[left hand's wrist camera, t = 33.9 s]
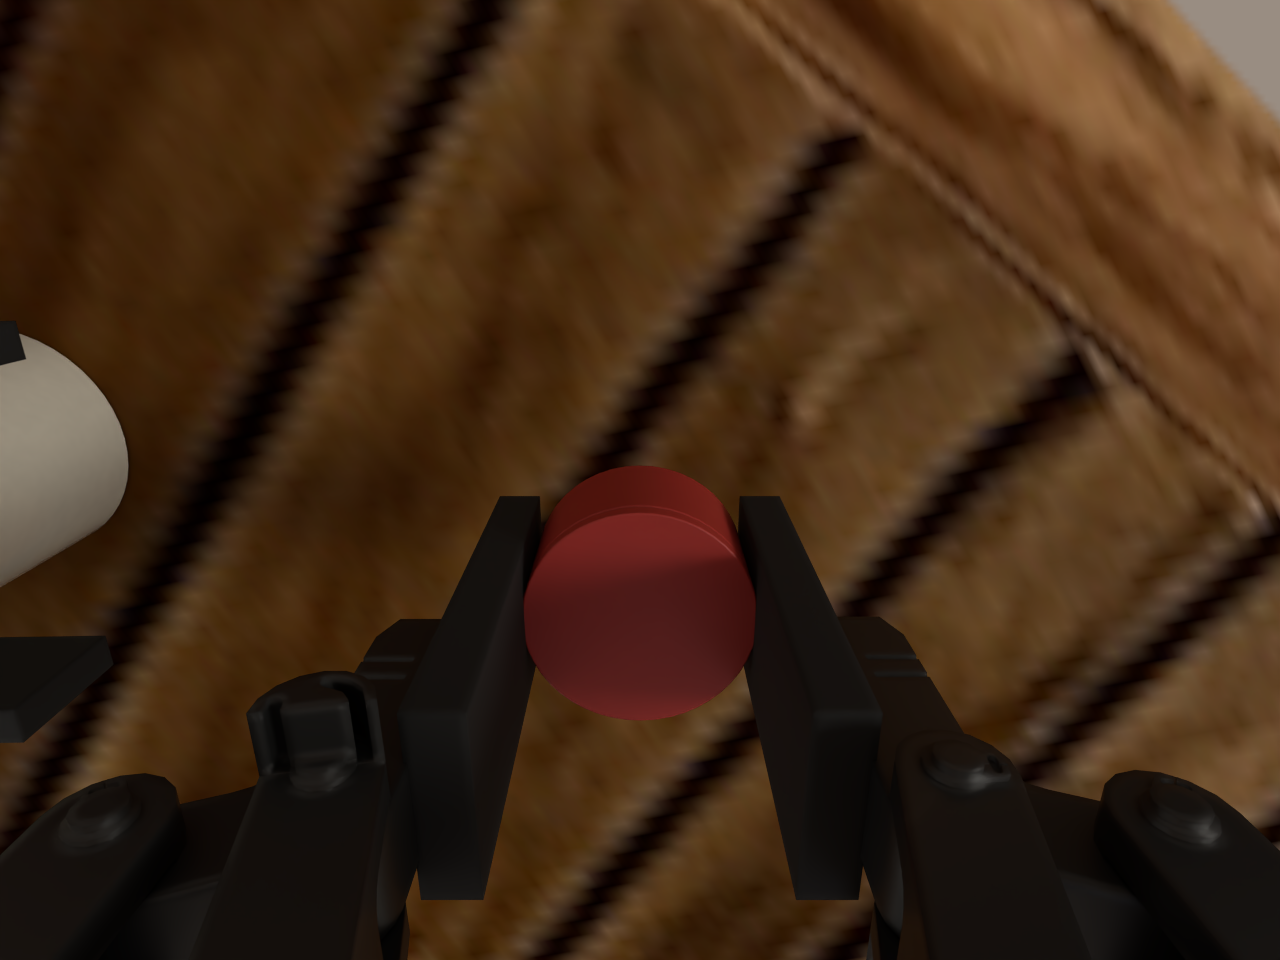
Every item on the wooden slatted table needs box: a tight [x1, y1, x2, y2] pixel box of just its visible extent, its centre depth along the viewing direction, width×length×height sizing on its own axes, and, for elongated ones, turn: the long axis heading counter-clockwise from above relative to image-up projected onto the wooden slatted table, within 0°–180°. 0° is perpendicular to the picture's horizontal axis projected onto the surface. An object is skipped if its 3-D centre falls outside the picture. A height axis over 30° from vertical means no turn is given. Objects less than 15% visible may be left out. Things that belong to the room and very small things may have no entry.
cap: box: [523, 466, 756, 720], centre depth 14 cm, size 4×4×2 cm
